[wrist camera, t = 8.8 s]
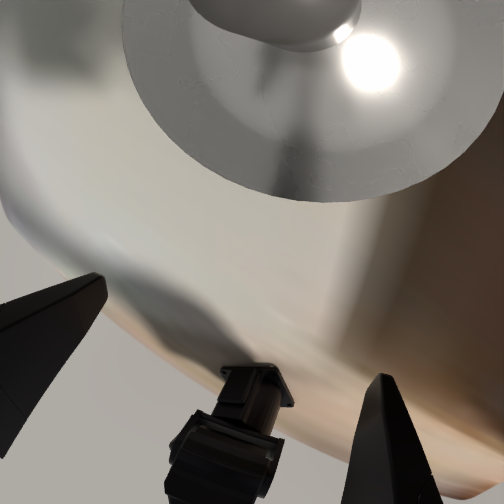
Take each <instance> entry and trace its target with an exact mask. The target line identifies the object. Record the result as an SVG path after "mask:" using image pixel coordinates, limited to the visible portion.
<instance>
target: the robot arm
mask: <svg viewBox="0 0 504 504" xmlns="http://www.w3.org/2000/svg"><path fill="white" fill-rule="evenodd" d="M107 298H108V291H107V286H106V280H105V277H104V276H103V275H100V274H98V273H96V272H93V273H89V274H86V275H83V276H80V277H78V278H75V279H72V280H69V281H66V282H63V283H60V284H57V285H54V286H51V287H48V288H45V289H43V290H40V291H37V292H34V293H31V294H29V295H26V296H23V297H20V298H17V299H14V300H12V301H9V302H7V303H6V304H5V303H3V304H0V458H1V459H3V458H4V457H5V455H6V453H7V451H8V450H9V448H10V447H11V445H12V443H13V441H14V440H15V438H16V437H17V435H18V433H19V432H20V430H21V428H22V427H23V425H24V424H25V422H26V420H27V418H28V417H29V416H30V414H31V412H32V411H33V409H34V408H35V406H36V405H37V403H38V402H39V400H40V399H41V397H42V396H43V394H44V393H45V391H46V390H47V388H48V387H49V385H50V384H51V383H52V381H53V380H54V378H55V377H56V375H57V374H58V372H59V371H60V370H61V368H62V367H63V365H64V364H65V363H66V361H67V360H68V358H69V357H70V355H71V354H72V353H73V351H74V350H75V349H76V347H77V346H78V345H79V343H80V342H81V340H82V339H83V338H84V336H85V335H86V333H87V332H88V330H89V329H90V327H91V325H92V324H93V322H94V320H95V319H96V317H97V315H98V314H99V312H100V311H101V309H102V307H103V306H104V304H105V303H106V301H107ZM220 373H221V374H222V376H223V377H224V379H225V381H226V382H225V384H224V386H223V388H222V390H221V392H220V394H219V396H218V399H217V401H218V402H217V404H216V406H215V408H214V410H213V412H212V414H211V415H208V414H206V413H203V411H201V410H197V411H196V412H195V414H194V415H191V417H190V419H189V420H188V422H187V423H186V425H185V426H184V428H183V429H182V430H181V432H180V433H179V434H178V435H177V436H176V437H175V438H174V439H173V440H172V441H171V442H170V444H169V448H170V450H171V453H170V458H169V463H170V464H171V465H172V466H171V468H170V471H169V473H168V476H167V477H166V479H165V481H164V488H165V494H167V495H168V499H169V504H254V503H255V500H256V498H257V497H260V498H264V497H265V496H266V494H267V492H268V490H269V488H270V485H271V483H272V480H273V478H274V475H275V472H276V469H277V465H278V462H279V459H280V455H281V452H282V448H283V445H284V441H285V439H281V438H279V439H278V438H275V437H272V436H270V434H271V432H272V429H273V426H274V423H275V420H276V418H277V415H278V412H279V409H280V407H293V406H294V404H295V402H294V400H293V398H292V396H291V394H290V392H289V390H288V388H287V386H286V384H285V382H284V380H283V378H282V376H281V374H280V372H279V370H278V369H277V368H273V367H221V369H220ZM266 457H267V458H266ZM431 474H432V472H431V469H430V467H429V464H428V461H427V458H426V456H425V453H424V451H423V448H422V445H421V443H420V440H419V438H418V435H417V433H416V430H415V428H414V425H413V423H412V420H411V418H410V415H409V413H408V411H407V408H406V406H405V404H404V401H403V399H402V397H401V394H400V392H399V390H398V387H397V385H396V383H395V380H394V378H393V377H392V376H391V375H388V374H384V373H379V374H378V375H377V376H376V378H375V379H374V380H373V382H372V383H371V384H370V386H369V387H368V389H367V391H366V393H365V397H364V401H363V405H362V409H361V413H360V417H359V421H358V424H357V428H356V432H355V435H354V439H353V445H352V450H351V456H350V462H349V467H348V472H347V478H346V482H345V487H344V491H343V496H342V500H341V504H443V501H442V499H441V496H440V494H439V491H438V488H437V486H436V483H435V480H434V477H433V475H431Z"/></svg>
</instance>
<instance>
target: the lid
mask: <svg viewBox="0 0 504 504" xmlns="http://www.w3.org/2000/svg"><path fill="white" fill-rule="evenodd" d="M122 35H123V47H124V51H125V56H126V61H127V66H128V69H129V71H130V74H131V77H132V80H133V83H134V85H135V87H136V89H137V92H138V94H139V96H140V98H141V100H142V102H143V103H144V105H145V107H146V108H147V110H148V111H149V113H150V114H151V116H152V117H153V119H154V120H155V121H156V123H157V124H158V125H159V126H160V127H161V129H162V130H163V131H164V132H165V133H166V134H167V136H168V137H169V138H170V139H171V140H172V141H173V142H175V143H176V144H177V145H178V146H179V147H180V148H181V149H182V150H183V151H184V152H185V153H187V154H188V155H189V156H191V157H192V158H193V159H195V160H196V161H197V162H199V163H200V164H202V165H203V166H204V167H206V168H208V169H209V170H211V171H213V172H215V173H216V174H218V175H220V176H222V177H223V178H225V179H227V180H230V181H232V182H234V183H237V184H239V185H241V186H244V187H246V188H248V189H252V190H255V191H258V192H261V193H265V194H268V195H271V196H276V197H281V198H286V199H291V200H297V201H309V202H322V203H324V202H350V201H356V200H363V199H369V198H375V197H379V196H382V195H386V194H389V193H393V192H397V191H400V190H402V189H405V188H407V187H409V186H412V185H414V184H416V183H419V182H421V181H423V180H425V179H427V178H428V177H430V176H432V175H433V174H435V173H437V172H438V171H440V170H442V169H443V168H445V167H446V166H448V165H449V164H450V163H451V162H453V161H454V160H455V159H456V158H457V157H459V156H460V155H461V154H462V153H463V152H465V151H466V150H467V148H468V147H469V146H470V145H471V144H472V143H473V142H474V141H475V140H476V138H477V137H478V136H479V135H480V134H481V133H482V131H483V130H484V128H485V127H486V125H487V123H488V122H489V120H490V119H491V117H492V116H493V114H494V112H495V110H496V108H497V106H498V103H499V101H500V99H501V96H502V94H503V91H504V0H124V4H123V16H122Z"/></svg>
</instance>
